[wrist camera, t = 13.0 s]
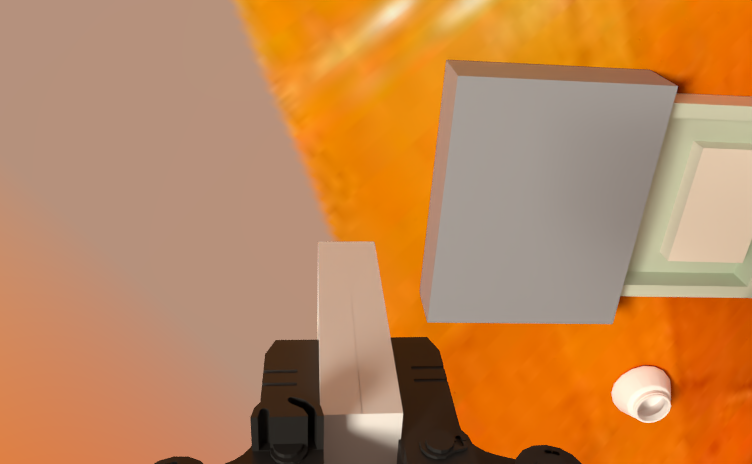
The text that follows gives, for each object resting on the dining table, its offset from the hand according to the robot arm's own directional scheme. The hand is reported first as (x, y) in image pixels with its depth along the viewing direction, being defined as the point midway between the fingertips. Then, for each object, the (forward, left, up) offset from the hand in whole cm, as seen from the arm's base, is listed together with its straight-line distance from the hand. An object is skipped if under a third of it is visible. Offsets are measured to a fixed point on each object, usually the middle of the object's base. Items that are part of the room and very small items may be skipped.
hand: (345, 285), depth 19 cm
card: (+9, +29, -26) cm, 40 cm away
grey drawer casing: (+9, +15, -28) cm, 33 cm away
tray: (+9, +28, -28) cm, 41 cm away
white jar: (+28, +28, -29) cm, 49 cm away
